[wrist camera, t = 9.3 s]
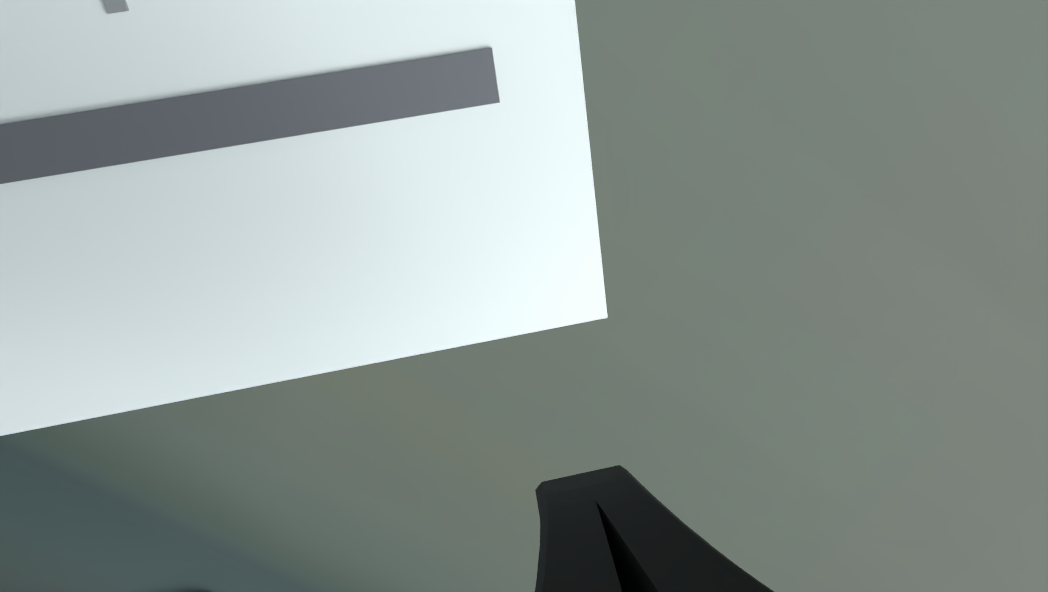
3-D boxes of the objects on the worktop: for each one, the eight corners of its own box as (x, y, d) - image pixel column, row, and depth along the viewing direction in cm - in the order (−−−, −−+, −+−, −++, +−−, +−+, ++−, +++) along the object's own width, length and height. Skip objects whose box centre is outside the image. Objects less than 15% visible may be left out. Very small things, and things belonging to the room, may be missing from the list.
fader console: (589, 290, 21) (608, 319, 20) (-278, 456, 19) (-354, 506, 17) (528, -248, 17) (547, -282, 15) (-646, -111, 14) (-809, -129, 12)
